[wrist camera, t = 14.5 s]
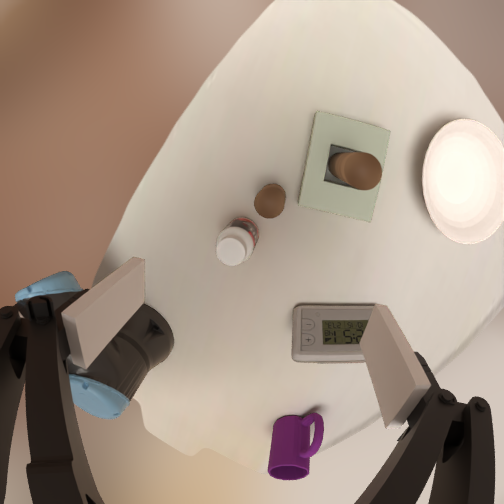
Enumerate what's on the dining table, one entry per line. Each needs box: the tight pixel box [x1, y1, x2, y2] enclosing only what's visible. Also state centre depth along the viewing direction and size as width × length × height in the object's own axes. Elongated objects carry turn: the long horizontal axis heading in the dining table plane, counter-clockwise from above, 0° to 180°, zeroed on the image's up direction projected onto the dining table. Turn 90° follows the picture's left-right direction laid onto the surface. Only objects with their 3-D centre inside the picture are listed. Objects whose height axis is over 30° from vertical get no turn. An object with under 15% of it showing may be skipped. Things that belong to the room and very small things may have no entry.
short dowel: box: [254, 184, 286, 218], centre depth 41 cm, size 4×4×7 cm
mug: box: [268, 413, 324, 480], centre depth 53 cm, size 9×16×15 cm, turn 148°
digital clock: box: [292, 305, 374, 363], centre depth 45 cm, size 16×9×11 cm, turn 80°
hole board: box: [298, 111, 390, 222], centre depth 39 cm, size 11×14×4 cm
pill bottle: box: [216, 218, 259, 266], centre depth 42 cm, size 5×5×10 cm
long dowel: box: [328, 152, 382, 190], centre depth 34 cm, size 4×4×15 cm
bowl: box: [422, 119, 504, 244], centre depth 35 cm, size 20×20×6 cm
